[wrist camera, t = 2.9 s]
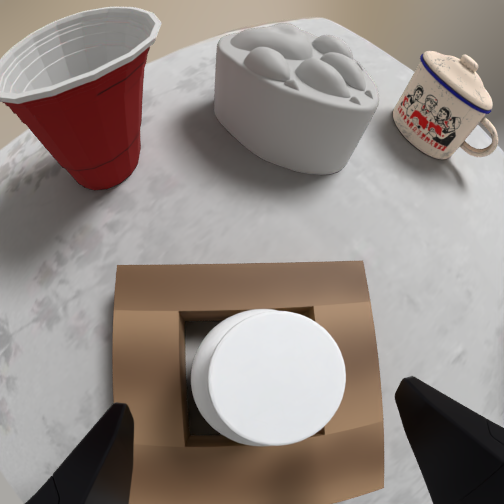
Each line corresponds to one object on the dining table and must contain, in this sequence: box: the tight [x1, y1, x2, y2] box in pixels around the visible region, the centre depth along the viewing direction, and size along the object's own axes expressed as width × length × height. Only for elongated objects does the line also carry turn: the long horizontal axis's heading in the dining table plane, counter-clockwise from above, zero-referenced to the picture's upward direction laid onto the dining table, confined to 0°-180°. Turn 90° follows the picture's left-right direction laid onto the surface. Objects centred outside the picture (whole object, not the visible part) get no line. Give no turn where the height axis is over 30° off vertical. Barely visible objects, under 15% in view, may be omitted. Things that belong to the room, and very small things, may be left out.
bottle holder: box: [112, 261, 384, 504], centre depth 15 cm, size 14×14×3 cm
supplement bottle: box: [191, 309, 346, 446], centre depth 12 cm, size 5×5×10 cm
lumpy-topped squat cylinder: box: [214, 23, 379, 175], centre depth 21 cm, size 10×13×9 cm
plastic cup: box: [0, 7, 161, 190], centre depth 16 cm, size 11×11×12 cm
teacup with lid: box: [393, 51, 498, 159], centre depth 23 cm, size 12×9×12 cm
